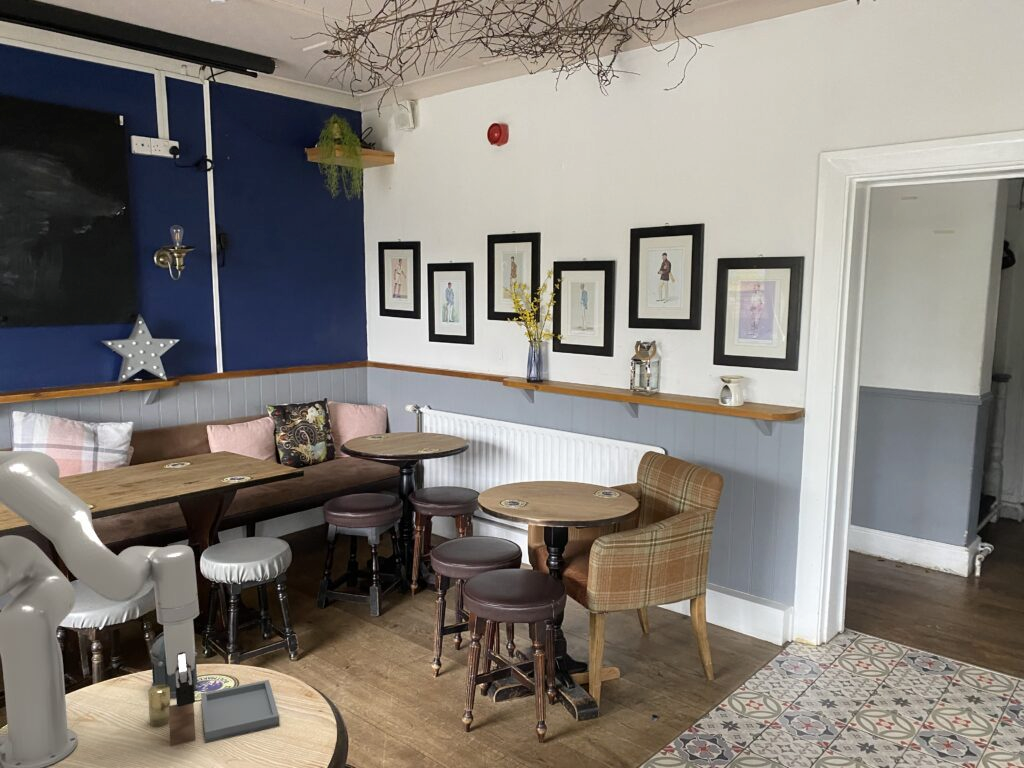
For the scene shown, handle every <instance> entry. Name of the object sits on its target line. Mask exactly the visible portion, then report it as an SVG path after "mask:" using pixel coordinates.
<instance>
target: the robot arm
mask: <svg viewBox="0 0 1024 768" xmlns="http://www.w3.org/2000/svg"><path fill="white" fill-rule="evenodd" d="M60 474H61V472H60V466H59V464H58V463H57V462H56V460H55V458H53V457H52V456H50V455H48V454H46V453H43V452H42V451H41V452H40V451H34V450H33V451H32V450H18V451H17V450H2V451H1V450H0V503H1V504H2V505H4V506H5V507H6V508H8V509H9V510H10V511H12V512H13V513H14V514H15V515H17V517H19V518H21V519H22V520H24V521H25V522H26V523H27V524H29V525H30V526H31V527H32V528H34V529H35V530H37V532H39V533H40V534H42V536H44V537H45V538H47V539H48V540H49V541H51V544H53V546H54V548H55V551H56V552H57V555H59V557H60V559H61V560H62V562H63V563H64V565H65V567H67V569H68V570H69V571H70V573H72V575H73V576H74V577H75V578H76V579H77V580H79V581H80V582H81V583H82V584H84V585H85V586H86V587H87V588H89V589H90V590H91V591H93V592H94V593H96V594H97V595H98V596H100V597H102V598H104V599H106V600H108V601H110V602H115V603H125V602H127V601H131V600H132V599H135V598H136V597H137V596H138V595H139V594H140V593H141V592H142V591H143V589H144V588H145V586H146V585H148V584H150V583H153V589H154V590H153V591H154V599H155V608H156V611H155V612H156V621H157V623H158V624H159V625H163V632H164V634H163V635H164V643H165V653H166V664H167V674H168V675H171V674H174V673H175V677H176V686H175V690H176V698H175V699H176V704H177V706H178V707H180V706H184V705H188V704H192V703H193V704H195V702H196V696H195V691H194V683H193V682H192V679H193V672H192V670H193V669H194V662H195V652H196V642H195V641H196V640H195V628H194V627H195V625H194V619H196V618H197V617H198V616H199V615H200V608H199V607H200V606H199V598H198V597H199V596H198V584H197V573H196V562H195V560H196V559H195V555H194V554H195V553H194V551H193V548H192V547H190V546H188V545H186V544H174V545H168V546H164V547H162V546H161V547H159V546H146V545H145V546H144V545H135V546H134V545H133V546H130V547H127V548H126V549H123V550H122V551H120V553H119V554H118V555H117V554H115V553H114V552H112V550H111V549H109V548H108V547H107V546H106V545H105V544H104V543H103V542H102V541H101V539H100V538H99V536H98V535H97V533H96V532H95V528H94V525H93V518H92V512H91V509H90V506H89V505H88V504H87V503H86V502H85V501H83V500H82V499H81V498H80V497H78V496H77V495H75V494H74V493H73V492H72V491H70V490H69V489H68V488H67V487H65V486H64V485H63V484H61V483H60V482H59V481H58V480H59V478H60ZM75 591H76V590H75V589H74V587H73V585H72V583H71V582H70V580H69V579H68V578H67V577H66V575H64V573H63V572H62V571H61V570H60V569H59V568H58V567H57V566H56V564H54V562H53V561H52V560H51V559H50V558H49V557H48V556H47V554H45V552H44V551H43V550H42V548H40V547H39V546H38V545H37V544H36V543H35V542H34V541H33V542H32V540H30V539H28V538H26V537H24V536H21V535H11V534H10V535H4V536H1V537H0V599H1V598H2V597H4V596H6V595H7V594H9V593H10V594H11V596H13V597H12V598H11V600H9V601H8V602H7V603H6V604H5V606H3V608H2V609H1V611H0V659H1V665H2V673H3V675H2V676H3V683H4V684H3V685H4V696H5V709H6V720H7V721H6V722H7V733H6V734H2V736H1V737H0V766H1V767H2V768H46V767H48V766H51V765H53V764H55V763H58V762H60V761H62V760H63V759H64V758H66V757H67V756H69V755H70V754H71V753H73V751H74V750H75V749H76V747H77V746H78V741H79V740H78V739H79V737H78V734H77V732H75V731H74V730H72V729H69V728H68V719H67V716H68V715H67V704H66V701H67V700H66V689H65V687H66V686H65V675H64V663H63V662H64V661H63V659H64V658H63V654H62V648H61V645H60V643H59V640H58V637H57V630H58V628H59V626H60V625H61V623H62V622H63V621H64V620H65V619H66V618H67V617H68V616H69V615H70V614H71V612H72V611H73V609H74V607H75V603H76V596H77V595H76V592H75Z"/></svg>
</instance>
